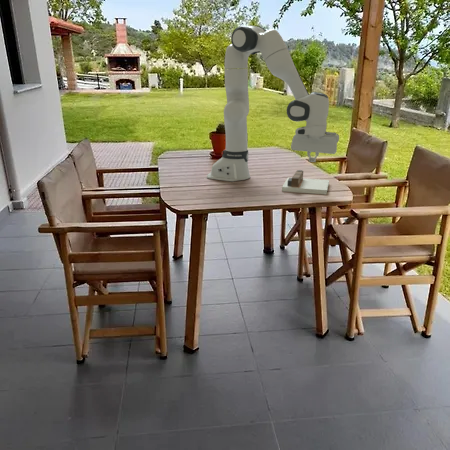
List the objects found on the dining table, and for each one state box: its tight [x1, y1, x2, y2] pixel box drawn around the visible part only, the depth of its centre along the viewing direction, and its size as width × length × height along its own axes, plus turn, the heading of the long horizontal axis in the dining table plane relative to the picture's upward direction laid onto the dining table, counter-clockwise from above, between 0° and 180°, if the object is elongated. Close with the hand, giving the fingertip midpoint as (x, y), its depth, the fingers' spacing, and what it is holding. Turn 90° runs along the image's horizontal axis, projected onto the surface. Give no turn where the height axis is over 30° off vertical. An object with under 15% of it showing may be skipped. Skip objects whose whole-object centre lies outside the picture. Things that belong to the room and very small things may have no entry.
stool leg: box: [291, 169, 304, 187], centre depth 192 cm, size 17×3×4 cm, turn 162°
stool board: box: [281, 176, 330, 195], centre depth 191 cm, size 20×18×4 cm
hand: (312, 161), depth 185 cm, fingers closed
